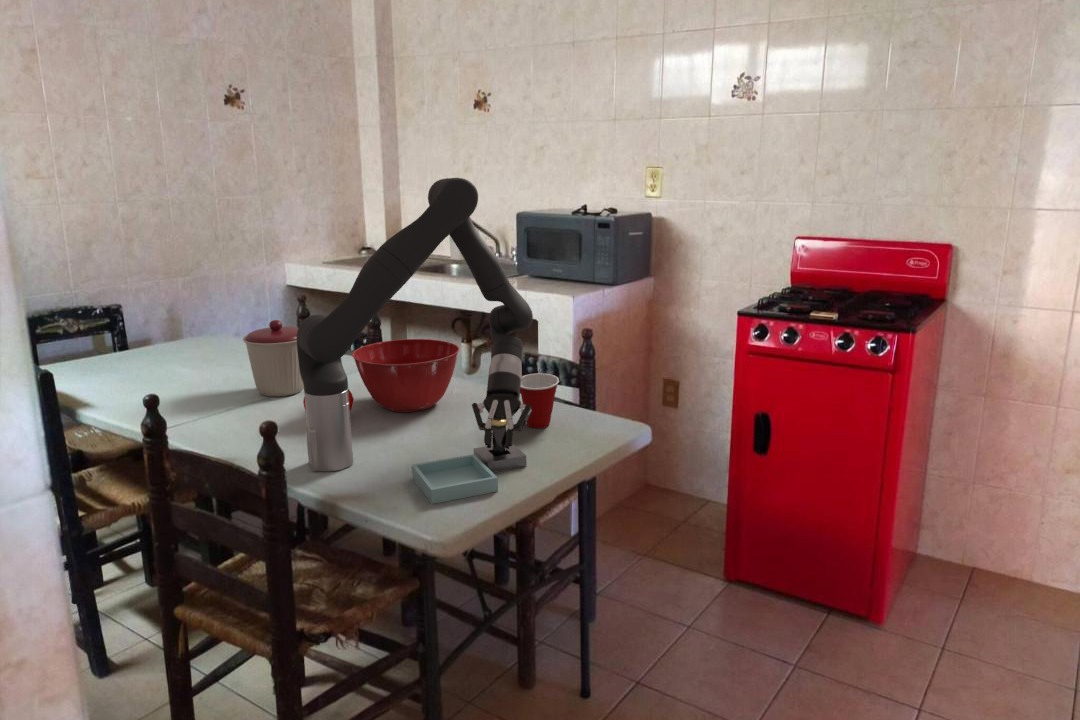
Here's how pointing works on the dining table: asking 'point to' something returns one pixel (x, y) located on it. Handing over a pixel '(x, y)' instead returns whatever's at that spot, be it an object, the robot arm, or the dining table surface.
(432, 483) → the tray
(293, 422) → the dining table surface
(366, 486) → the dining table surface
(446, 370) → the mixing bowl
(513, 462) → the grey square socket base
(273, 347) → the canister
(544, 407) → the plastic cup
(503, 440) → the pin
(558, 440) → the dining table surface
